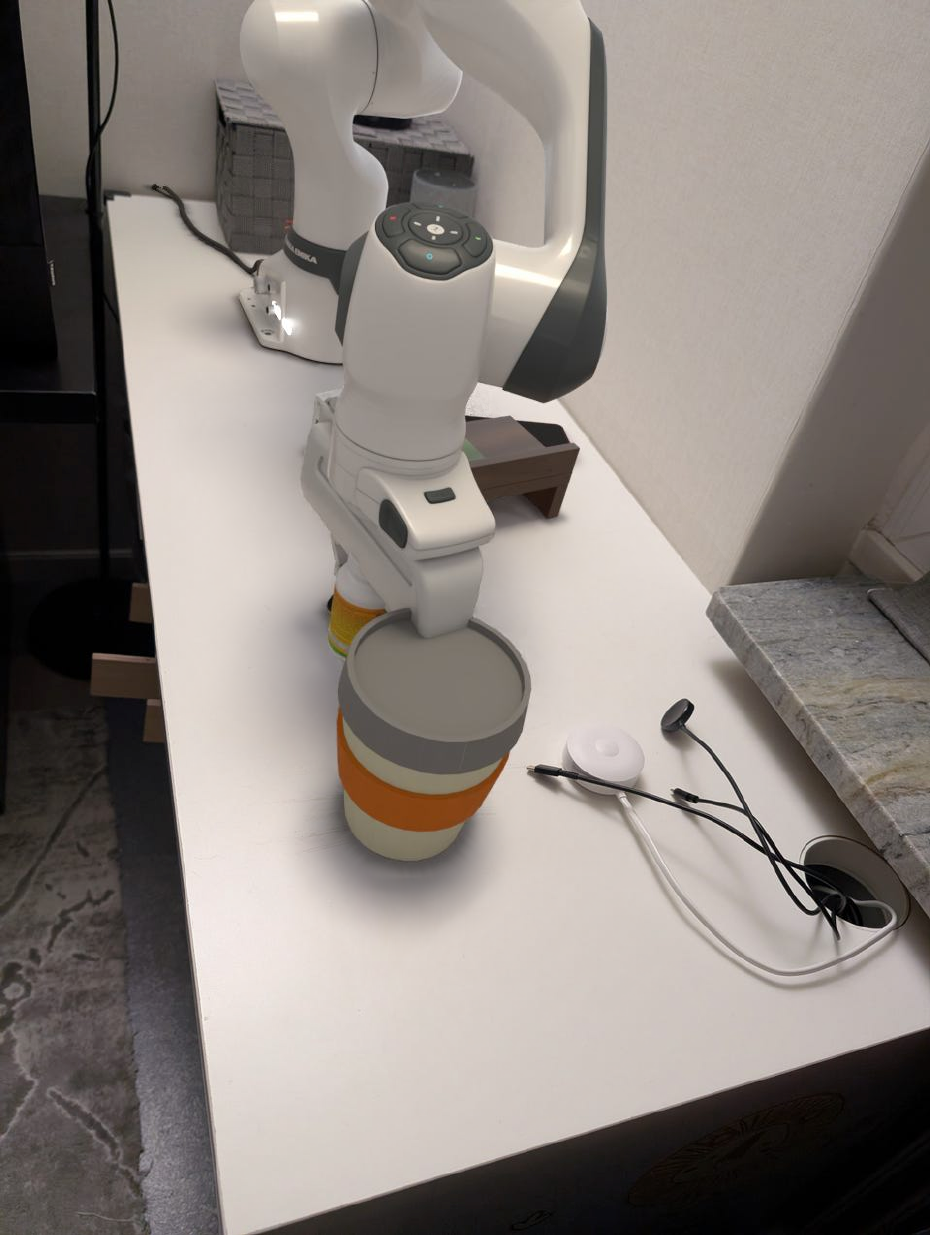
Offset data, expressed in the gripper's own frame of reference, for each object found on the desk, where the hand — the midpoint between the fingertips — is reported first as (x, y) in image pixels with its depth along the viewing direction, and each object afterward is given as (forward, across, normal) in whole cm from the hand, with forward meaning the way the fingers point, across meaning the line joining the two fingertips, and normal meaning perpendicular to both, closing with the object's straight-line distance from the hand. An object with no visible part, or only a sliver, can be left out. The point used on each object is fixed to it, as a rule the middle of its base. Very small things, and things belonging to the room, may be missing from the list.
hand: (366, 607), depth 71 cm
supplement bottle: (+4, 0, 0) cm, 4 cm away
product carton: (+9, -30, +15) cm, 35 cm away
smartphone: (+9, -29, +37) cm, 47 cm away
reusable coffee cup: (+8, +14, -3) cm, 16 cm away
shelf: (+8, -20, +23) cm, 31 cm away
